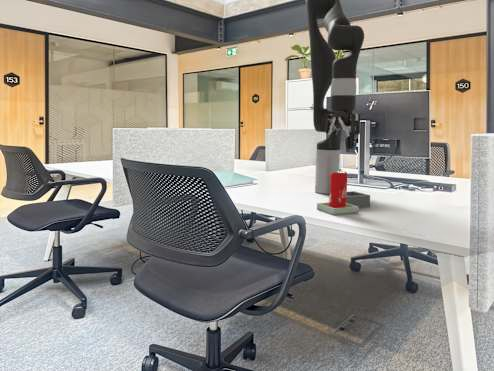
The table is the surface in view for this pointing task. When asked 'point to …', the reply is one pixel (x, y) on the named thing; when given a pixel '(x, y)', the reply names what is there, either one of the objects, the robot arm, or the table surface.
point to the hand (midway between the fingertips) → (341, 148)
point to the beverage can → (338, 189)
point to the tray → (337, 209)
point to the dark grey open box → (358, 199)
